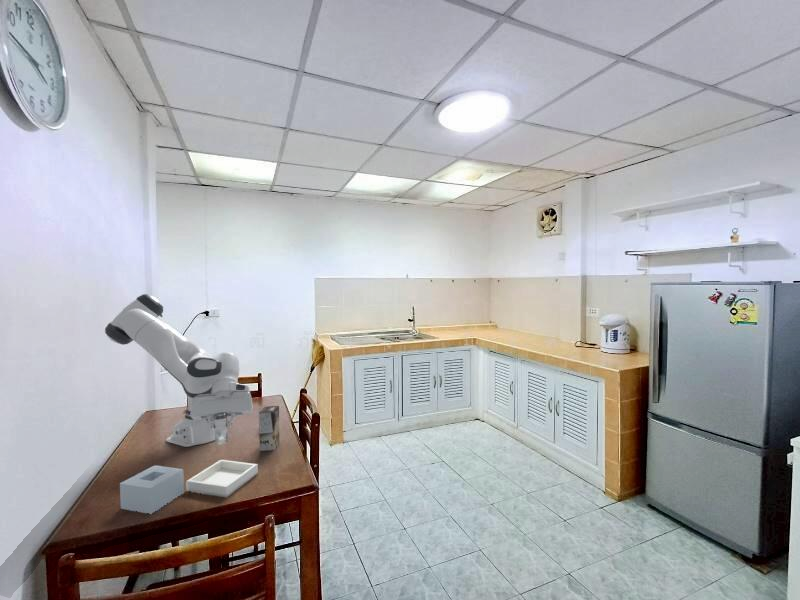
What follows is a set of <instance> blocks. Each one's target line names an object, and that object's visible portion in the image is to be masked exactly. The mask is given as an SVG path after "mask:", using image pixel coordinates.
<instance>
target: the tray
mask: <svg viewBox="0 0 800 600" xmlns="http://www.w3.org/2000/svg"><path fill="white" fill-rule="evenodd" d="M258 466H259V464H258V463H250V462H243V461H236V460H235V461H234V460H228V459H219V460H218V461H217V462H215V463H212V465H210V466H208V467H206V468H205V469H203V470H202V471H200V472H199V473H197V474H196V475H193V476H192V477H190V478H189V479H187V480H186V481H185V484H186V485H185V486H186V489H185V490H186V492H188V491H191V492H190V493H194V492H195V493H197V494H200V493H201V494H202V495H208V496H213V497H219V498H220V497H221V498H228V497H230V496H231V495H232V494H233V493H235V492H236V491H237V490H239V489H241V487H242V486H244V485H245V484H247V483H248V482H249V481H250V480H252V479H253V478H255V476H257V475H258V474H259V467H258Z"/></svg>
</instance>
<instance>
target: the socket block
mask: <svg viewBox="0 0 800 600" xmlns="http://www.w3.org/2000/svg"><path fill="white" fill-rule="evenodd" d="M119 491H120V492H119V494H120V496H119V497H120V509H122V510H127V511H131V512H136V511H137V512H138V513H142V514H147V513H149V514H148V515H152V513H153V512H154V513H156V512H157V511H158V510H161V507H162V508H163V507H164V505H165V506H166V505H168V504H170V503H171V502H173V501H174V500H176V499H177V498H178V496H179V497H180V496H182V495H183V494H184V493H185V479H184V469H183V468H176V467H170V466H162V465H153V466H151V467H149V468H147V469H144V470H142V471H141V472H139V473H136V474H135V475H134V476H131V477H130V478H127V479H126V480H124V481H121V482H119ZM181 494H182V495H181ZM175 498H176V499H175ZM173 499H174V500H173ZM167 503H168V504H167ZM155 511H156V512H155ZM154 513H153V514H154Z"/></svg>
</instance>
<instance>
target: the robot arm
mask: <svg viewBox="0 0 800 600" xmlns="http://www.w3.org/2000/svg"><path fill="white" fill-rule="evenodd" d="M163 312H164V306H163V305H162V303H161V301H160V300H159V298H157V297H155V296H153V295H150V294H147V293H146V294H145V293H144V294H141V295H139V296H138V297H136V299H135V300H133V301H132V302H130V303H129V304H128V305H127V306H125V307H124V308H122V311H120V312H119V313H118V314H117V315H116V316H115V317H114V318H113V320H112V321H110V322H109V323H107V326H106V327H105V328H104V333H105V334H106V336H107V338H108V339H109V340H111V341H112V342H114V343H116V344H119V345H128V344H130V343H132V342H133V341H134V342H135V343H136V344H137V345H139V346H140V347H141V348H142V349H143V350H145V351H146V352H147V353H148V354H149V355H150V356H151V357H153V358H154V360H155V361H157V362H158V363H159V364H160V366H161V367H162V368H164V369H165V370H166V371H167V372H168V373H169V374H170V375H171V376H172V377H173V378H174V379H176V381H177V382H179V384H180V385H181V386H182V389H183V391H184V393H185V395H186V396H187V408H186V409H185V410H183V411H182V415H183V414H185V415H184V418H182V419H181V420H180V421H178V422H177V423H176V424H174V427H173V428H172V434H171V435H170V436H168V437H167V438H166V442H167V443H170V444H173V445H178V446H181V447H184V448H185V447H186V448H187V447H193V446H196V445H203V444H208V443H210V442H213V441H214V442H215V424H214V414H216V413H222V412H226V413H227V418H228V417H230V419H229V420H227V429H229V428H232V427H233V422H234V421H235V420H236V419H237V417H238V416H246V415H251V414H252V413H253V412H254V404H253V399H252V394H251V389H250V387H249V385H248V384H247V385H246V384H243V383H239V381H238V379H239V376H240V362H239V359H238V357H237V356H236V354H233V353H232V352H221V353H219V354H217V355H215V356H213V355H212V354H211V353H210V352H208V351H206V350H205V349H204V348H202V347H201V346H199V345H198V344H196V343H194V342H193V341H191V340H190V339H189V338H187V337H185V336H184V335H183V334H182V333H180V331H179V332H178V331H177V329H175V328H173V327H172V326H171V325H169V324H168V323H167V322H165V321H163V320H161V319H159V318H158V317H161V318H163Z"/></svg>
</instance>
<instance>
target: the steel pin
mask: <svg viewBox="0 0 800 600" xmlns="http://www.w3.org/2000/svg"><path fill="white" fill-rule="evenodd" d="M227 421H228V417H227V413H226V412H222V413H216V414H214V424H215V440H214V444H215V445H216V446H222V445H225V444H227V443H228V442H229V440H228V439H229V438H228V437H229V436H228V428H227Z"/></svg>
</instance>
